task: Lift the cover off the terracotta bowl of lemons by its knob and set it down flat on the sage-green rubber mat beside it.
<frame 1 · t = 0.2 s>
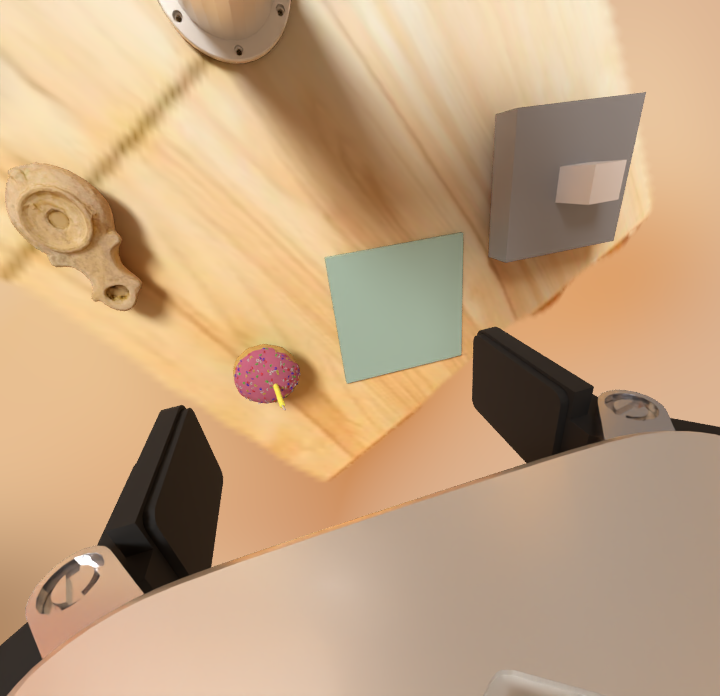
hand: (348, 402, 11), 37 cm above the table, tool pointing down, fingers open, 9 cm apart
mat: (400, 311, 51), on the table
cupcake: (266, 359, 50), on the table
oil lamp: (96, 234, 38), on the table
cover: (547, 182, 45), point 3 cm above the table, touching bowl
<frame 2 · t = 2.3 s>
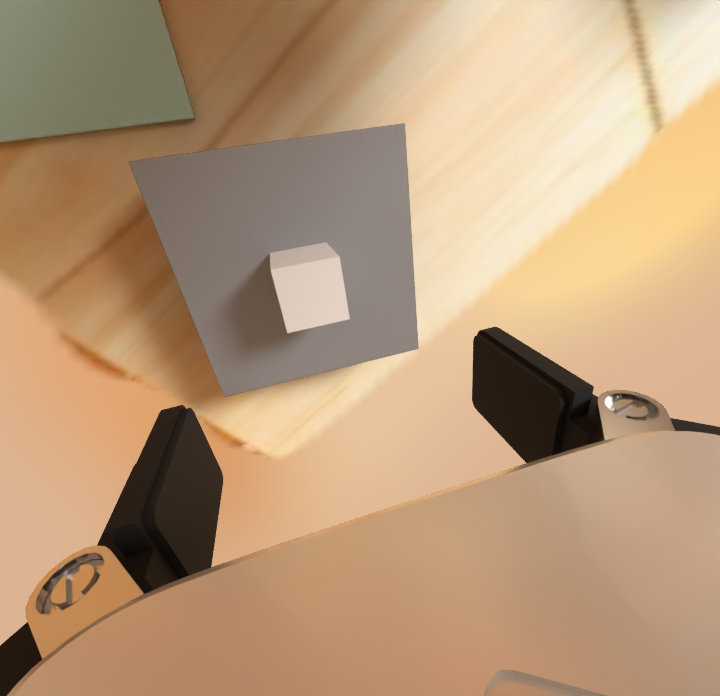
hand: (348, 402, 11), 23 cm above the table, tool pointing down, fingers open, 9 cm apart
cover: (299, 263, 28), point 3 cm above the table, touching bowl
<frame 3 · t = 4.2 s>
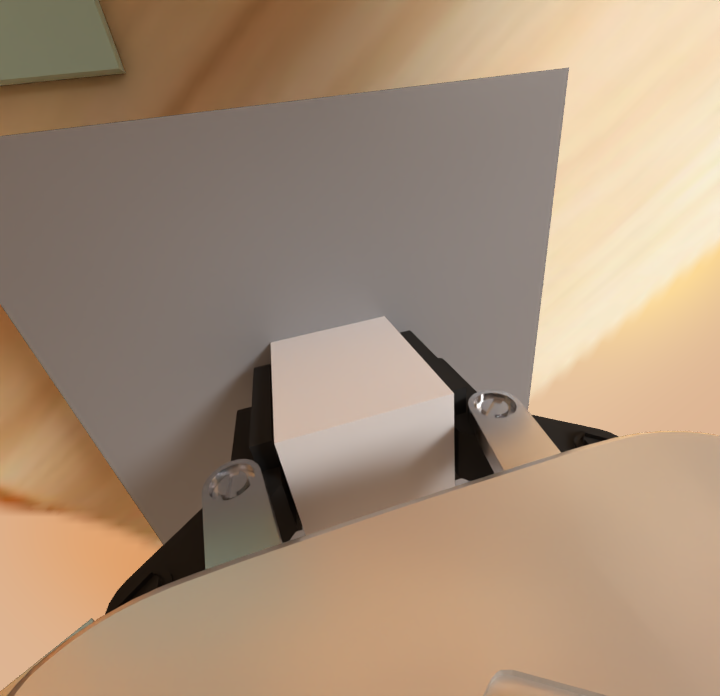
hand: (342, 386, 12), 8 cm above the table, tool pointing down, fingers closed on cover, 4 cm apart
cover: (322, 335, 16), point 3 cm above the table, touching bowl, gripper
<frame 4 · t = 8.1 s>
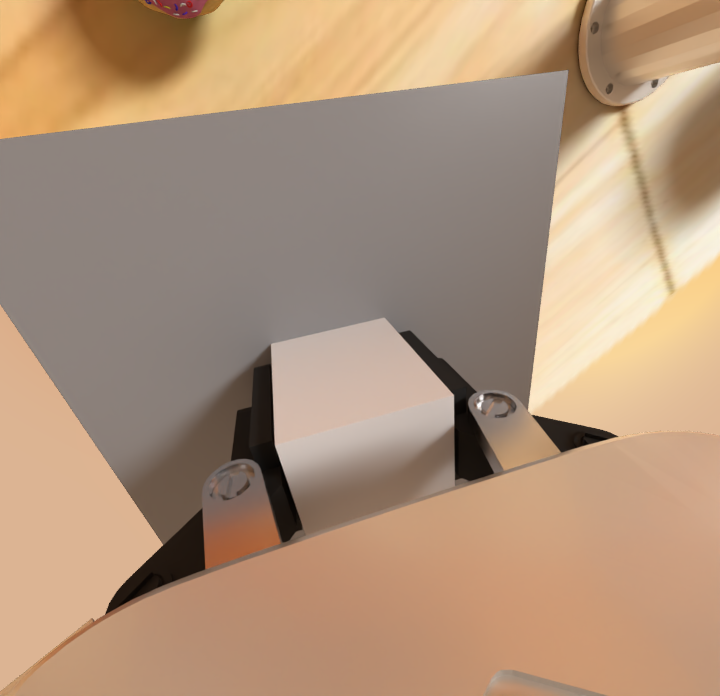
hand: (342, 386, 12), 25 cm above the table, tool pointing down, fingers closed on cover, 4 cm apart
cover: (322, 336, 16), point 21 cm above the table, touching gripper
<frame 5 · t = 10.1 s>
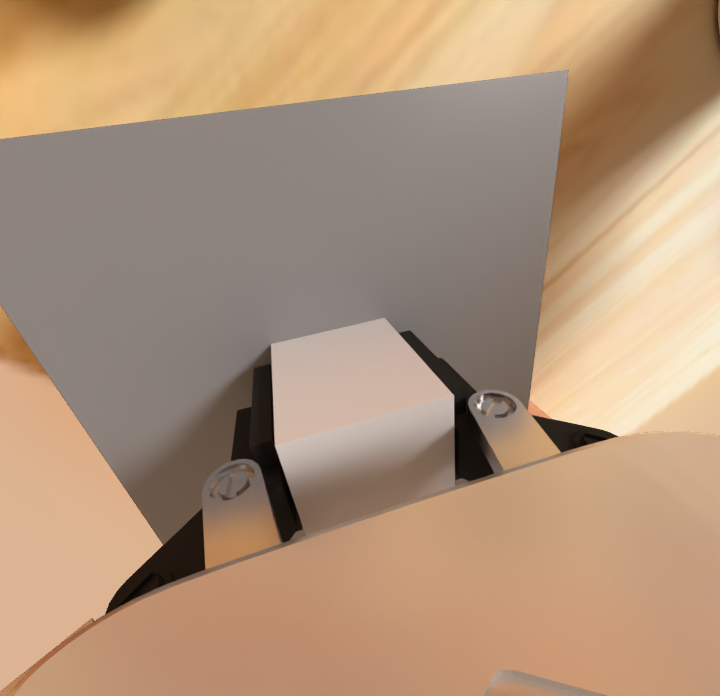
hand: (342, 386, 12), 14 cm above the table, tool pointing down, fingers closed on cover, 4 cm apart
cover: (322, 336, 16), point 10 cm above the table, touching gripper
when the fingers open (7 cm above the table, at t = 11.9 s): cover drops 1 cm, resting on mat.
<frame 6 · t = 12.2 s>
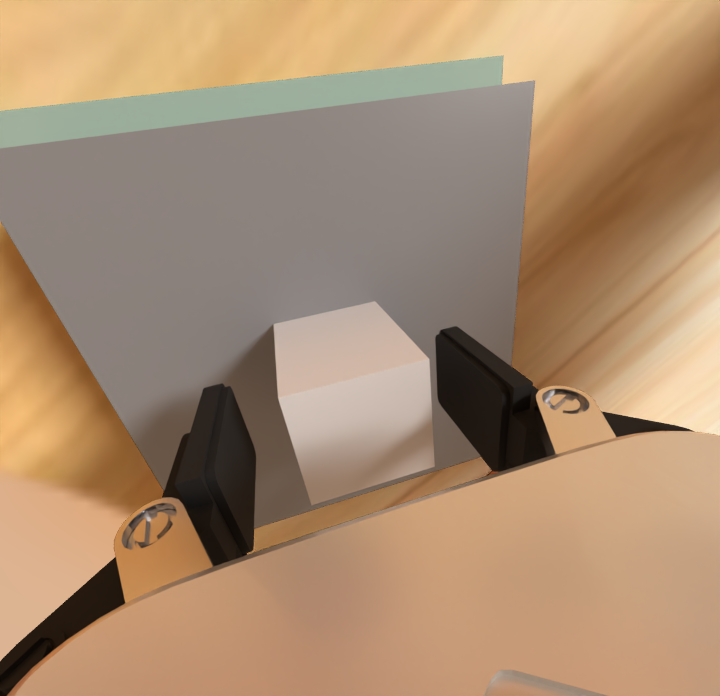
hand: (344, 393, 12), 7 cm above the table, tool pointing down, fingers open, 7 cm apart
mat: (316, 319, 18), on the table
cover: (320, 322, 17), point 1 cm above the table, touching mat
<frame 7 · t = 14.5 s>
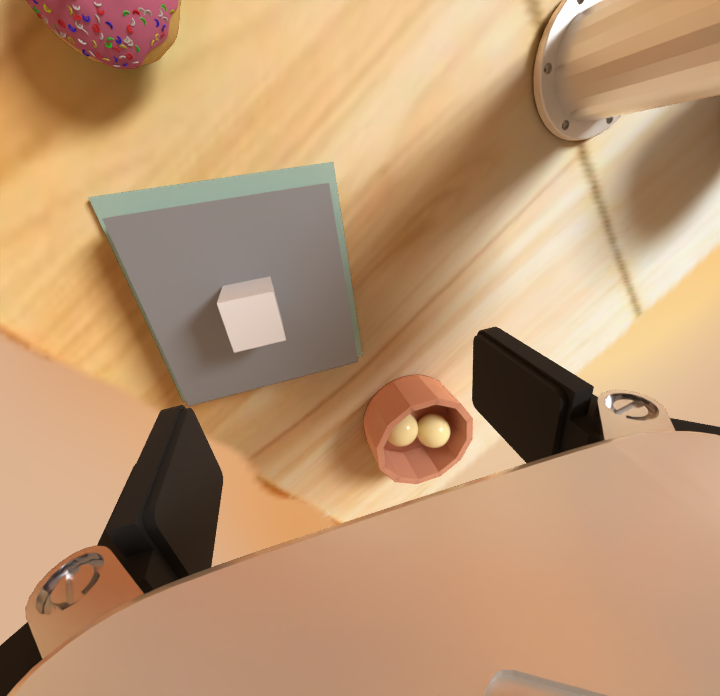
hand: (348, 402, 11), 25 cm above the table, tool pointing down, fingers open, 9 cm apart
bowl: (407, 414, 46), on the table
mat: (252, 290, 34), on the table
cupcake: (124, 11, 24), on the table
cover: (253, 291, 33), point 1 cm above the table, touching mat
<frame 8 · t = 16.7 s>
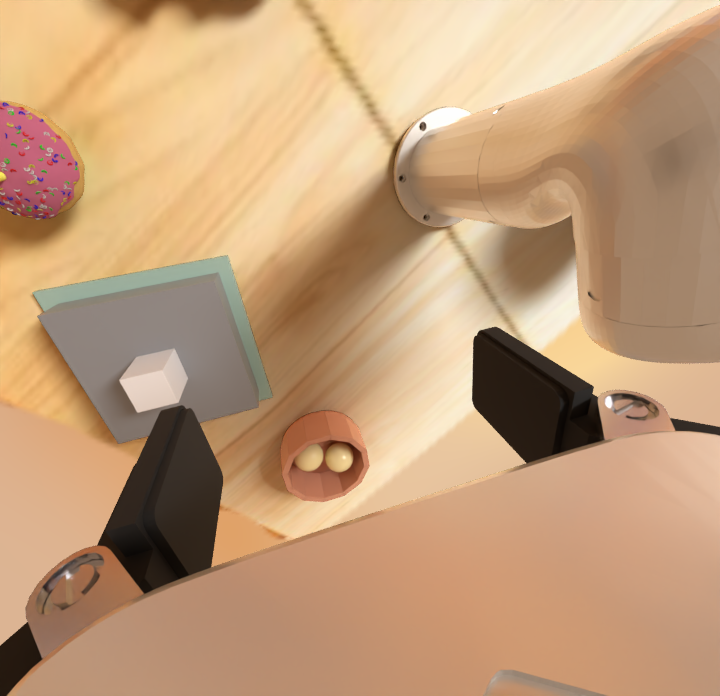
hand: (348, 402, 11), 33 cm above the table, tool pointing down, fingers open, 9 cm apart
bowl: (321, 442, 54), on the table
mat: (171, 350, 42), on the table
cupcake: (51, 164, 32), on the table
cover: (171, 352, 42), point 1 cm above the table, touching mat
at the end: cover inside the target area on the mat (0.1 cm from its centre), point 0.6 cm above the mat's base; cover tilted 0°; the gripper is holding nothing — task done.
